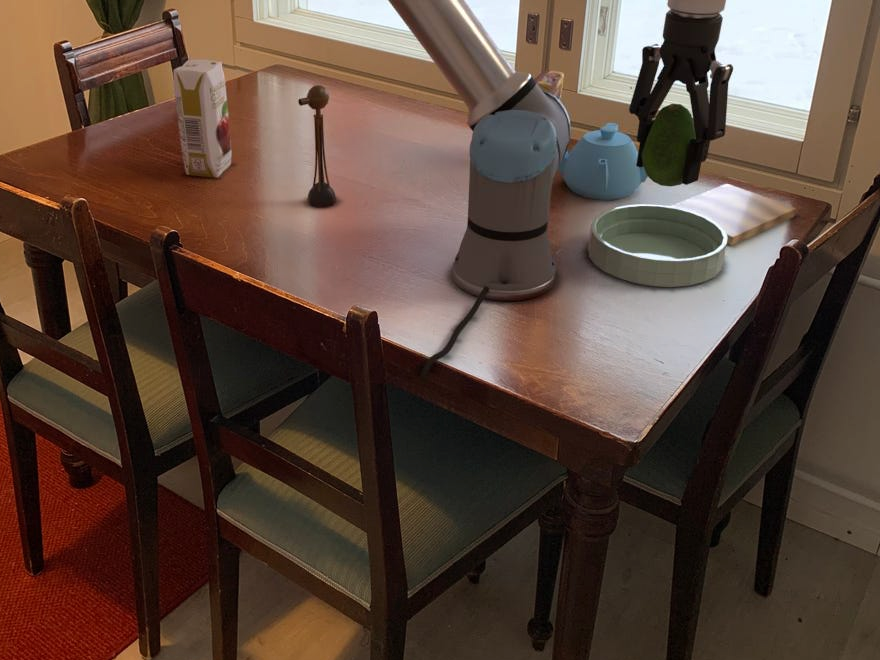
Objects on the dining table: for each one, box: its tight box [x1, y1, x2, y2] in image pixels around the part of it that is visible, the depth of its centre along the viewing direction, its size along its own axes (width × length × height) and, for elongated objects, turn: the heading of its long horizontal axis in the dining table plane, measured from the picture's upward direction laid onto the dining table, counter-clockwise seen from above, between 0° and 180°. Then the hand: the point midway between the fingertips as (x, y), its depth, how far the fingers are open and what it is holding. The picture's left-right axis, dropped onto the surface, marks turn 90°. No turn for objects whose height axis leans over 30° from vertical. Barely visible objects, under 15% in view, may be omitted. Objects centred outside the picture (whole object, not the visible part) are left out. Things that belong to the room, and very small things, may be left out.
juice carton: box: [173, 58, 233, 179], centre depth 179 cm, size 8×9×19 cm
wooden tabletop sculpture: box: [298, 84, 337, 209], centre depth 167 cm, size 6×5×20 cm
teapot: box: [558, 122, 649, 201], centre depth 176 cm, size 15×15×11 cm
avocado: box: [642, 103, 696, 187], centre depth 146 cm, size 8×8×12 cm
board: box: [669, 183, 797, 246], centre depth 169 cm, size 18×14×2 cm
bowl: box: [587, 203, 728, 288], centre depth 155 cm, size 20×20×4 cm
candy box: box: [533, 69, 565, 103], centre depth 186 cm, size 9×4×15 cm, turn 157°
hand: (666, 173), depth 148 cm, fingers closed on avocado, 8 cm apart
